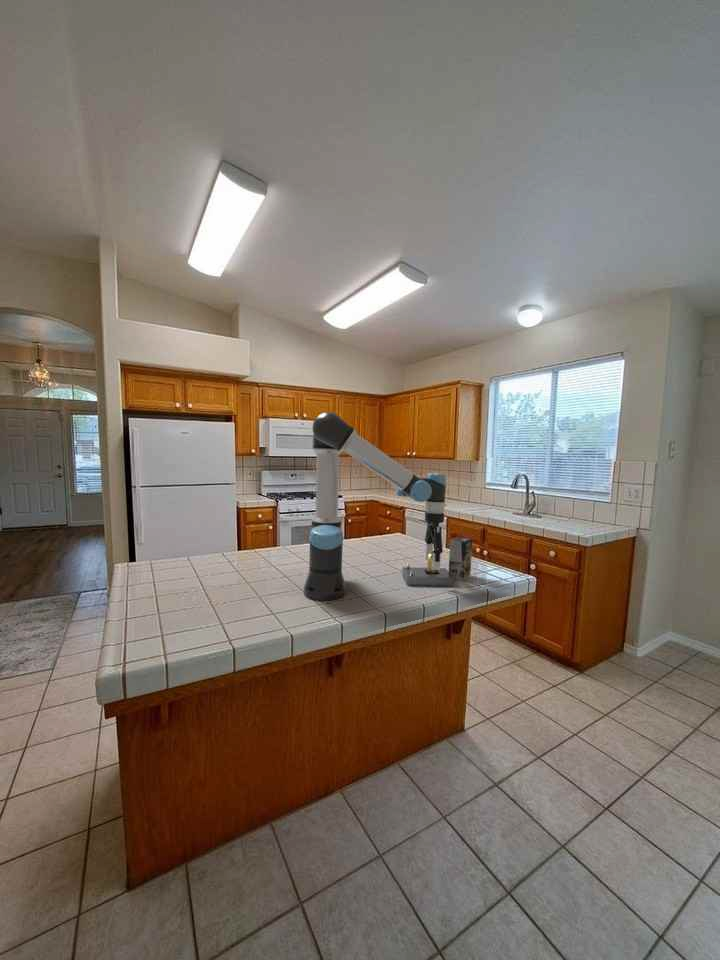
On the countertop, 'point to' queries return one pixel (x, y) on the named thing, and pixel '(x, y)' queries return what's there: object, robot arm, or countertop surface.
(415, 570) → the jig
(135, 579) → the countertop surface
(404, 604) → the countertop surface
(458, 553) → the coffee box
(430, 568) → the cylinder
